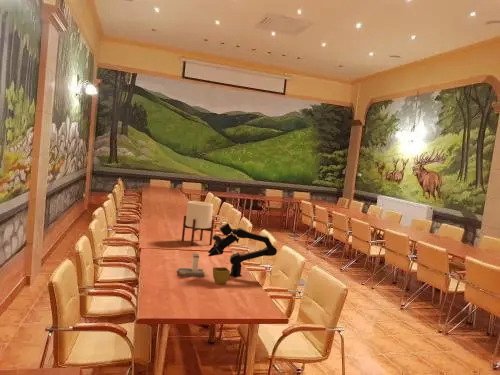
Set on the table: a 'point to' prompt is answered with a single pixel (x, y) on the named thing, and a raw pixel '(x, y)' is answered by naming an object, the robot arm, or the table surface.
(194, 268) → the fader knob
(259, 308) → the table surface
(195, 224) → the plant pot with stand
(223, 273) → the flower pot
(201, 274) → the grey railed base plate
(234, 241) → the robot arm
